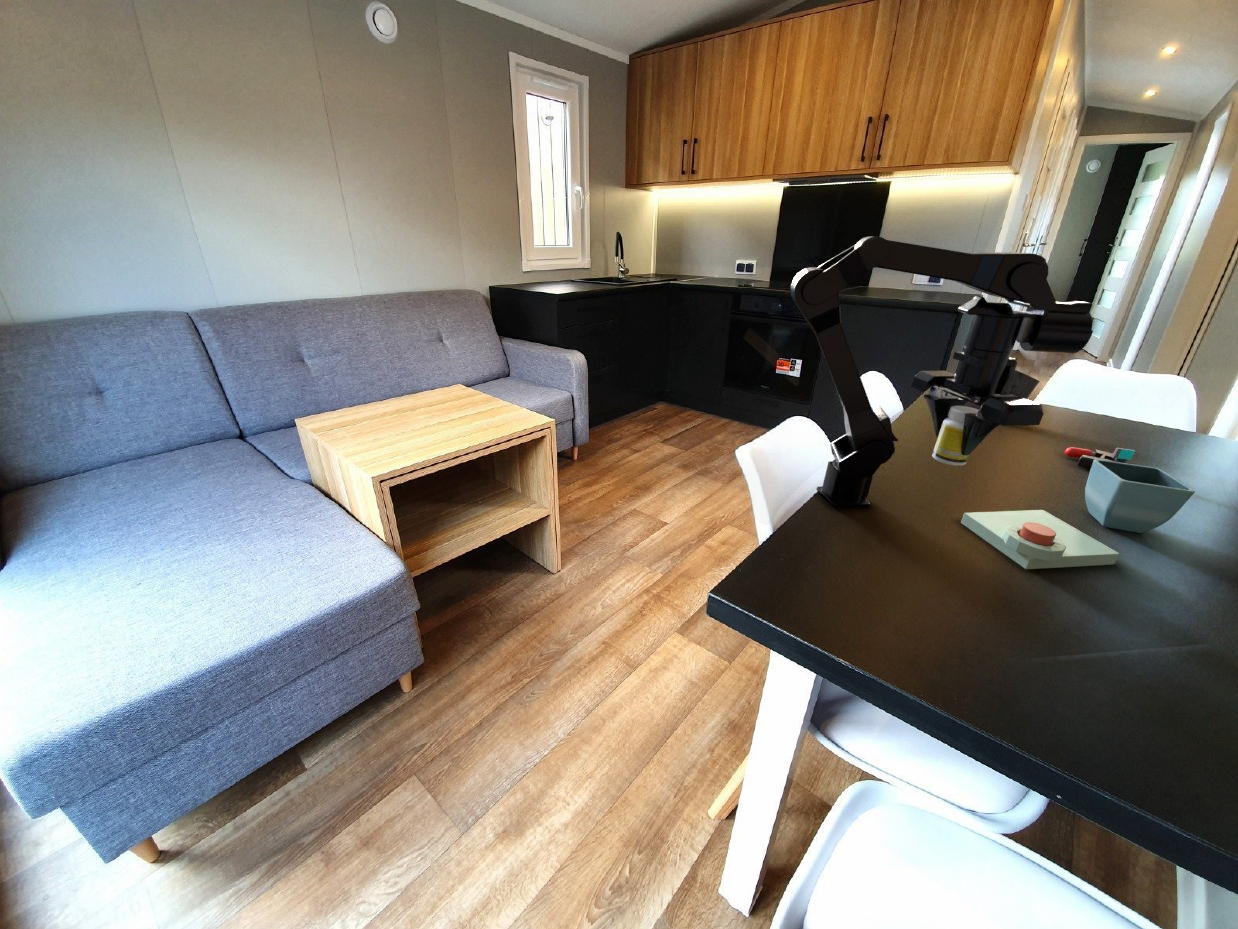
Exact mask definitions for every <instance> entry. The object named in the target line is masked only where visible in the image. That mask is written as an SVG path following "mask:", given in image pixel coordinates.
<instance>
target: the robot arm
mask: <svg viewBox="0 0 1238 929" xmlns="http://www.w3.org/2000/svg"><path fill="white" fill-rule="evenodd" d="M876 268H877V269H882V270H883V269H884V270H890V271H895V272H900V273H901V272H902V273H907V274H913V275H918V276H924V277H928V278H929V277H930V278H937V279H942V280H946V281H947V280H948V281H952V282H954V283H958V284H960V285H963V286H965V287H967V288H970V289H972V290H975V291H978V292H980V293H983V294H986V295H989V296H992V297H996V298H1000V299H1004V300H1005V301H1007V302H995V301H994V302H993V301H987V300H986V298H985V296H981V295H975V296H974V297H973V298H971V299H970V300H969V301H967V302H965V303H964V304H962V305H959V307H958V308H957V311H958V312H960V313H962V314H966V315H969V316H972V319H971V323H970V325H969V328H968V332H967V334H966V338H965V342H964V344H963V347H962V351H953V352H954V353H953V356H952V359H953V360H957V361H958V363H957V366H956V369H955V372H954V373H953V372H950V371H946V370H920V371H919V372H918V373H916V374H915V375H914V376H913V378H912V382H911V386H910V388H912V389H913V390H916V391H919V392H921V393H922V392H924V393H925V392H927V391H928V390H929V391H928V393H927V394H923V399H924V400H926V403H927V406H928V409H929V413H930V417H931V421H932V423H933V428H934V432H935V437H936V440H937V439H938V436H939V433H940V429H941V426H942V423H943V421H944V419H946V418H948V417H949V416H948V413H949V411H950V408H951V407H952V406H963V405H964V404H966V403H967V402H968V401H969V402H971V403H974V404H976V405H979V406H981V407H980V409H979V410H978V413H965V417H964V426H963V435H962V444H961V454H962V455H969V456H970V455H971V454H972V453H973V452H974V451H975V450H976V449H977V447H979V445H980V444H981V443H982V442H983V441H984V440H985V438H987V436H988V435H989V434H990V433H991V432H993V431H994V430H995V429H996V428H997V427H999V426H1003V427H1013V426H1014V427H1016V426H1017V427H1018V426H1040V424H1041V421H1042V420H1043V418H1044V417H1043V416H1044V414H1045V409H1044V408H1043V405H1042V404H1041V403H1039V402H1036V401H1033V400H1031V399H1028V398H1029V397H1030V396H1031V394H1032V393H1033V392H1034V391H1035V389H1036V388H1037V386H1038V385H1039V384H1040V382H1041V381H1040V380H1039V379H1036V378H1034V377H1032V376H1030V375H1028V374H1026V373H1024V372H1021V371H1019V370H1017V369H1016V368H1017V365H1018V358H1015V357H1011V355H1012V352H1013V350H1014V347H1015V344H1016V342H1017V343H1019V345H1020V347H1021V349H1022V350H1023V351H1026V352H1042V353H1055V354H1072V355H1073V354H1077V353H1079V352H1081V351H1082V350H1083V349H1084V348H1085V347H1086V346H1087V344H1088V343H1089V341H1090V340H1091V338H1092V336H1093V333H1094V331H1093V317H1092V314H1091V313H1090V312H1091V310H1092V308H1093V303H1091V302H1087V301H1080V300H1072V301H1057V300H1056V298H1055V296H1054V293H1053V291H1052V288H1051V286H1050V284H1049V282H1048V276H1049V265H1048V263H1047V259H1046V258H1045V257H1044V256H1043V255H1040V254H1037V253H1029V252H1011V251H1009V252H1008V251H1005V252H1004V251H1002V252H1001V251H1000V252H997V251H995V252H963V251H957V250H951V249H946V248H945V249H944V248H940V247H933V246H927V245H921V244H915V243H910V242H909V243H908V242H903V241H897V240H890V239H886V238H884V237H882V236H877V235H876V236H866V237H862V238H861V239H860V240H859V241H857V242H856V244H854V245H852V246H850V247H849V248H847V249H845V250H843V251H842V252H840V253H839V254H837V255H835V256H834V257H832V258H830V259H829V260H826V261H825V262H824V263H822V264H820V265H818V267H816V266H811V267H806V268H803V269H801V270H800V271H799V272H797V273H796V275H795V276H794V277H793V279H792V281H791V283H790V287H789V288H790V290H789V291H790V296H791V298H792V300H793V301H794V303H795V305H796V306H797V308H798V309H799V311H800V313H801V314H802V316H803V317H804V320H806V322H807V324H808V325H809V327H810V328H811V329H812V332H813V333H814V335H815V337H816V338H815V339H816V341H817V343H818V345H819V348H820V351H821V354H822V356H823V359H824V361H825V364H826V367H827V369H828V372H829V374H830V377H831V380H832V383H833V385H834V388H835V390H836V394H837V396H838V398H839V401H840V404H841V407H842V409H843V418H844V427H845V434H843V435H841V436H840V437H838V438H837V439H835V440H834V441H832V442H830V449H831V455H832V456H833V458H834V459H833V460H832V461H831V460H829V461H827V466H826V471H825V474H824V478H823V482H822V486H816V488H815V489H816V491H817V492H818V493H819V494H820V495H821V496H822V497H823V498H824V499H825V500H826V501H827V502H828V503H829V504H830V505H831V506H832V507H834V508H854V507H870V505H871V502H870V501H869V500H868V499H867V498H868V496H869V492H870V488H871V485H872V483H873V482H872V481H873V479H874V477H873V476H874V475H875V473H876V472H877V471H878V470H879V468H880V467H881V466H882V465H884V464H886V463H887V462H888V461H890V459H891V458H892V457H893V455H894V454H895V451H896V446H895V442H899V439H898V438H897V436H896V435H895V434H894V432H893V428H892V422H891V417H890V416H889V414H888V413H886V411H885V410H884V409H883V408H882V407H881V405H878V406H877V407H875V408H873V407H872V406H871V403H870V400H869V397H868V394H867V392H866V389H865V386H864V383H863V381H862V378H861V374H860V373H859V369H858V367H857V363H856V361H855V358H854V356H853V353H852V350H851V348H850V345H849V342H848V338H847V337H846V333H845V331H844V328H843V325H842V314H841V313H842V312H841V301H840V295H839V293H841V292H842V291H844V290H845V289H847V288H848V287H851V285H853V284H854V283H855V282H857V281H858V280H859V279H860V278H862V277H863V276H864V275H866V274H867V273H869V272H870V271H871V270H873V269H876ZM1011 304H1012V305H1016V306H1020V307H1025V308H1026V309H1025V310H1013V307H1012V305H1011ZM995 394H999V395H1010V394H1012V395H1015V396H1018V397H995ZM976 397H980V399H979V398H976ZM1027 399H1028V400H1027Z"/></svg>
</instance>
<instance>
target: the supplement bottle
mask: <svg viewBox="0 0 1238 929" xmlns="http://www.w3.org/2000/svg"><path fill="white" fill-rule="evenodd" d="M965 413H978V409H975V408H971V407H966V406H952V407H951V408H950V411H949V413H948V416H949V417H948V418H946V419H944V421H943V423H942V426H941V429H940V433H939V436H938V439H937V438H936V442H935V444H934V447H933V451H932V454H931V456H932V458H933V459H934V460H936V461H937V462H939V463H941V464H944V465H949V466H961V467H962V466H965V465H966V464H967V463H968V461H969V458H970V455H962V454H961V444H962V435H963V426H964V417H965Z"/></svg>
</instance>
